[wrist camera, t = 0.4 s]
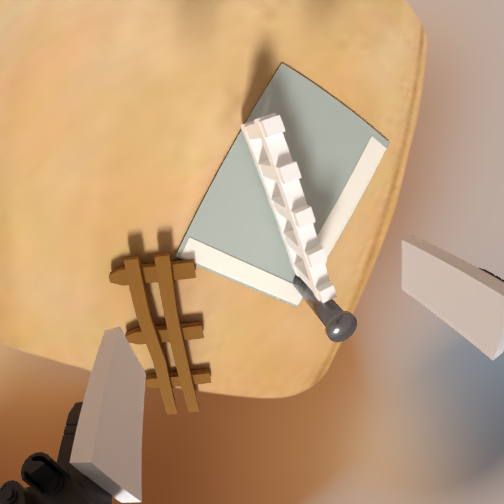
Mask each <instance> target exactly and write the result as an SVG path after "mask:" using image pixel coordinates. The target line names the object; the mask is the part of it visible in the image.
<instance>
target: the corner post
mask: <svg viewBox="0 0 504 504" xmlns="http://www.w3.org/2000/svg"><path fill="white" fill-rule="evenodd" d="M293 285H294V287H295V288H296V289H297V291H298V292H299V293H300V295H301V296H302V297H303V298H304V300H305V301H306V302H307V303H308V305H309V306H310V307H311V309H312V310H313V311H314V312H315V314H316V315H317V316H318V318H319V319H320V320H321V321H322V323H323V324H324V325H325V327H326V328H325V331H326V334H327V336H328V337H329V338H330V340H332V341H334V342H341V341H344V340H346V339H348V337H350V336H351V335H352V334H353V333H354V331H355V329H356V326H357V320H356V318H355V317H354V316H353V315H352V313H350V312H348V311H343V310H342V309H341V308H340V307H339V306H338V305H337V304H336V302H335V301H334V300H333V299H331V300H329V301H327V302H325V303H322V302H321V301H318V299H317V298H316V297H315V296H314V293H313V291H312V290H311V289H310V288H309V287H308V286H307V285H306V283H305V282H304V281H303V280H302V279H301V278H300V277H298V276H297V275H296V276H295V277H294V279H293Z"/></svg>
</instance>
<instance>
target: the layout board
mask: <svg viewBox="0 0 504 504" xmlns="http://www.w3.org/2000/svg"><path fill="white" fill-rule="evenodd" d="M272 113H276V116H278V115H280V117H281V120H282V122H283V125H284V128H285V132H283V135H284V138H285V140H286V143H287V146H288V149H289V152H290V154H291V157H292V160H293V161H295V162H297V165H298V168H299V171H300V174H301V177H302V178H300V179H299V181H300V184H301V187H302V190H303V193H304V196H305V199H306V203H307V205H308V206H310V207H311V208H312V211H313V214H314V218H315V221H316V222H315V223H313V225H314V228H315V232H316V235H317V238H318V242H319V245H320V246H321V247H322V248H324V252H325V255H326V259H327V257H328V255H329V254H330V252H331V250H332V249H333V247H334V245H335V243H336V242H337V240H338V238H339V236H340V235H341V233H342V231H343V229H344V228H345V226H346V224H347V222H348V221H349V219H350V217H351V215H352V213H353V212H354V210H355V208H356V206H357V204H358V202H359V201H360V199H361V197H362V195H363V193H364V191H365V189H366V188H367V186H368V184H369V182H370V180H371V178H372V176H373V174H374V172H375V170H376V168H377V166H378V165H379V163H380V161H381V159H382V157H383V155H384V153H385V151H386V149H387V147H388V145H389V142H388V141H387V140H386V139H385V138H384V137H383V136H381V135H380V134H379V133H378V132H377V131H376V130H374V129H373V128H372V127H371V126H370V125H368V124H367V123H366V122H365V121H364V120H362V119H361V118H360V117H359V116H357V115H356V114H355V113H353V112H352V111H351V110H350V109H348V108H347V107H346V106H344V105H343V104H342V103H340V102H339V101H338V100H336V99H335V98H334V97H332V96H331V95H330V94H328V93H327V92H325V91H324V90H322V89H321V88H320V87H318V86H317V85H315V84H314V83H312V82H311V81H309V80H308V79H306V78H305V77H303V76H302V75H300V74H299V73H297V72H296V71H294V70H292V69H291V68H289V67H288V66H286V65H284V64H283V63H282V64H281V65H280V67H279V68H278V70H277V71H276V73H275V75H274V76H273V78H272V79H271V81H270V83H269V84H268V86H267V87H266V89H265V91H264V92H263V94H262V96H261V97H260V99H259V101H258V102H257V104H256V106H255V107H254V109H253V111H252V112H251V114H250V116H249V117H248V119H247V121H246V122H245V123H248V122H251V121H254V120H255V119H257V118H260V117H263V116H266V115H269V114H272ZM176 257H178V258H180V259H183V260H188V259H194V265H197V266H199V267H201V268H204V269H206V270H208V271H211V272H213V273H215V274H218V275H220V276H222V277H225V278H227V279H229V280H232V281H234V282H237V283H239V284H241V285H244V286H246V287H249V288H251V289H253V290H256V291H258V292H261V293H263V294H266V295H268V296H270V297H273V298H275V299H278V300H280V301H283V302H285V303H288V304H290V305H293V306H295V307H297V306H298V305H299V303H300V301H301V300H302V298H303V297H302V296H301V295H300V293H299V292H298V291H297V289H296V288H295V287H294V285H293V279H294V277H295V276H296V274H295V273H294V270H293V268H292V265H291V263H290V260H289V259H290V258H289V256H288V253H287V250H286V247H285V244H284V241H283V240H282V237H281V234H280V231H279V227H278V224H277V222H276V219H275V216H274V213H273V210H272V208H271V206H270V203H269V201H268V198H267V194H266V191H265V188H264V186H263V183H262V180H261V178H260V175H259V174H258V171H257V168H256V166H255V162H254V159H253V156H252V154H251V151H250V149H249V146H248V143H247V141H246V139H245V137H244V134H243V132H242V129H241V131H240V133H239V135H238V136H237V138H236V140H235V142H234V143H233V145H232V147H231V149H230V151H229V152H228V154H227V156H226V158H225V160H224V161H223V163H222V165H221V167H220V169H219V171H218V173H217V174H216V176H215V178H214V180H213V182H212V184H211V186H210V188H209V189H208V191H207V193H206V195H205V197H204V199H203V201H202V203H201V205H200V207H199V209H198V211H197V213H196V215H195V217H194V219H193V221H192V223H191V225H190V227H189V229H188V231H187V233H186V235H185V237H184V239H183V241H182V243H181V245H180V247H179V249H178V251H177V253H176Z"/></svg>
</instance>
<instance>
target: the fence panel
mask: <svg viewBox="0 0 504 504" xmlns="http://www.w3.org/2000/svg"><path fill="white" fill-rule="evenodd" d="M241 129H242V132H243V134H244V137H245V139H246V141H247V143H248V146H249V149H250V151H251V154H252V156H253V159H254V162H255V166H256V168H257V171H258V174H259V175H260V178H261V180H262V183H263V186H264V188H265V191H266V194H267V198H268V201H269V203H270V206H271V208H272V210H273V213H274V216H275V219H276V222H277V224H278V227H279V231H280V234H281V237H282V240H283V241H284V244H285V247H286V250H287V253H288V256H289V258H290V259H289V260H290V263H291V265H292V268H293V270H294V273H295V274H296V275H297V276H298V277H300V278H301V279H302V280H303V281H304V282H305V283H306V285H307V286H308V287H309V288H310V289H311V290H312V291H313V293H314V296H315V297H316V298H317V299H318V301H321V302H322V303H325V302H327V301H329V300H331V299H333V298H335V297H336V293H335V289H334V285H333V284H332V283H331V282H330V281H329V277H328V273H327V270H326V266H325V263H326V262H327V259H326V255H325V252H324V248H322V247H321V246H320V245H319V242H318V238H317V235H316V232H315V228H314V225H313V223H315V222H316V221H315V218H314V214H313V211H312V208H311V207H310V206H308V205H307V203H306V199H305V196H304V193H303V190H302V187H301V184H300V181H299V179H300V178H302V177H301V174H300V171H299V168H298V165H297V162H295V161H293V160H292V157H291V154H290V152H289V149H288V146H287V143H286V140H285V138H284V135H283V132H285V128H284V125H283V122H282V120H281V117H280V115H278V116H276V113H272V114H269V115H266V116H263V117H260V118H257V119H255V120H254V121H251V122H248V123H245V124H243V125H241Z"/></svg>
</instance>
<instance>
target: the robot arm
mask: <svg viewBox="0 0 504 504" xmlns="http://www.w3.org/2000/svg"><path fill="white" fill-rule="evenodd" d="M402 290H404V291H405V292H406V293H407V294H409V295H410V296H412V297H413V298H414V299H416V300H417V301H419V302H420V303H421V304H422V305H424V306H425V307H426V308H428V309H429V310H430V311H432V312H433V313H434V314H435V315H437V316H438V317H440V318H441V319H442V320H443V321H445V322H446V323H447V324H448V325H450V326H451V327H452V328H453V329H455V330H456V331H457V332H459V333H460V334H461V335H462V336H464V337H465V338H466V339H467V340H469V341H470V342H471V343H472V344H473V345H475V346H476V347H477V348H478V349H480V350H481V351H482V352H483V353H484V354H486V355H487V356H488V357H489V358H491V359H492V360H494V359H496V358H497V357H498V356H499V355H500V354H501V353H502V352H503V351H504V280H501V278H499V277H498V276H494V274H492V273H490V272H489V271H487V270H484V269H481V268H477V267H475V266H473V265H471V264H469V263H467V262H466V261H464V260H462V259H460V258H458V257H456V256H454V255H452V254H450V253H448V252H446V251H444V250H442V249H440V248H438V247H436V246H434V245H432V244H430V243H428V242H425V241H424V240H422V239H419V238H417V237H415V236H410V237H407V238H405V239H402ZM145 381H146V373H145V371H144V369H143V368H142V366H141V364H140V362H139V361H138V359H137V357H136V355H135V353H134V352H133V350H132V348H131V346H130V344H129V342H128V341H127V339H126V337H125V335H124V333H123V331H122V329H121V327H117V328H113V329H110V330H106V331H105V332H104V335H103V338H102V341H101V344H100V347H99V350H98V353H97V356H96V359H95V363H94V366H93V369H92V372H91V376H90V379H89V383H88V386H87V390H86V393H85V397H84V401H83V402H78V403H76V404H75V405H74V407H73V408H72V410H71V411H70V413H69V415H68V419H67V422H66V427H65V430H64V436H63V438H62V442H61V446H60V450H59V455H58V459H57V463H56V462H55V461H54V460H53V459H52V458H51V457H50V456H49V455H48V454H45V453H43V452H40V453H35V454H33V455H30V456H29V457H28V458H27V459H26V460H25V462H24V464H23V466H22V470H21V476H22V480H23V481H25V482H26V483H27V484H28V485H30V486H31V487H27V488H25V487H23V486H22V485H21V484H20V483H18V482H16V481H13V480H12V481H8V482H6V483H4V484H3V486H2V487H1V489H0V504H111V503H112V496H113V497H114V498H115V499H117V500H118V501H120V502H121V503H125V502H141V501H142V498H141V453H142V452H141V451H142V425H143V407H144V393H145Z"/></svg>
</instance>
